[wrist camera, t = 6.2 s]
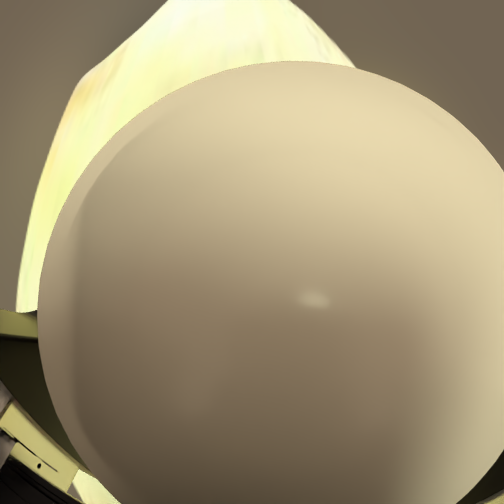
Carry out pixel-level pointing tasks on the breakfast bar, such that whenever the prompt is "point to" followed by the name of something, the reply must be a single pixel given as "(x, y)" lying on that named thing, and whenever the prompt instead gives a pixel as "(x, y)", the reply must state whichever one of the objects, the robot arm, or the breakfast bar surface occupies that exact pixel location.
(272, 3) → the breakfast bar surface
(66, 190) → the breakfast bar surface
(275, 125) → the peach plastic cup
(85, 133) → the breakfast bar surface
